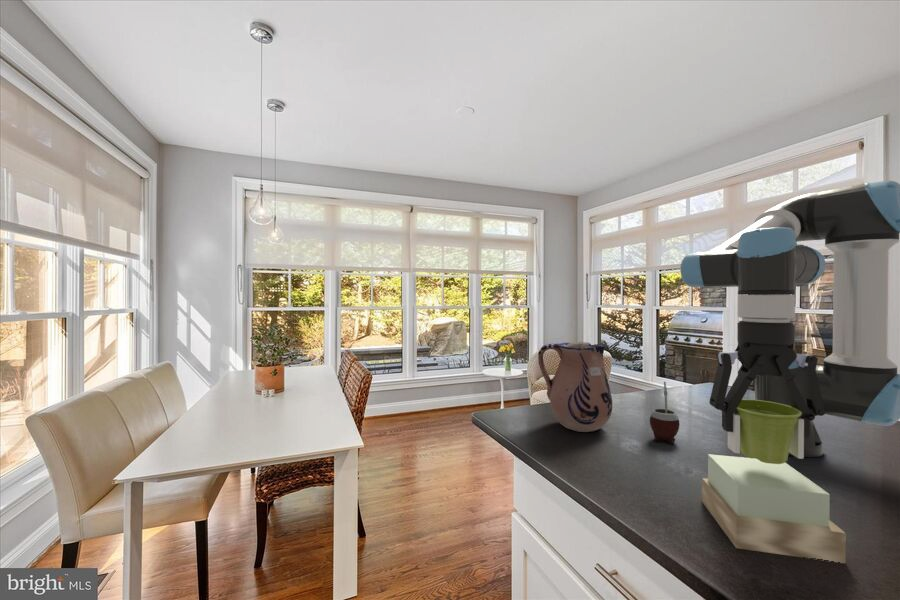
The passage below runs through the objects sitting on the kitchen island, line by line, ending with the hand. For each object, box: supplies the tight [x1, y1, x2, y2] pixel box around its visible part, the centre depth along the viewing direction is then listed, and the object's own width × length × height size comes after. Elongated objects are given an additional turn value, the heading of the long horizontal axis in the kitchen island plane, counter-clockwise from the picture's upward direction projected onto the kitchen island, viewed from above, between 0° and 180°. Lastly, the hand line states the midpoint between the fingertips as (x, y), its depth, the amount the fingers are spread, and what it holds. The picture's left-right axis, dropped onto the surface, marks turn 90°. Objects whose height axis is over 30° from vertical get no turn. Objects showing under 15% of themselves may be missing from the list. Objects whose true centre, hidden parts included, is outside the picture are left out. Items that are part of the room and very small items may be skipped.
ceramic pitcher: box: [537, 341, 613, 433], centre depth 115 cm, size 18×21×25 cm
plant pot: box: [735, 398, 802, 464], centre depth 65 cm, size 9×9×9 cm
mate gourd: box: [649, 381, 680, 446], centre depth 105 cm, size 8×8×15 cm
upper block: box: [707, 453, 831, 527], centre depth 65 cm, size 12×12×5 cm
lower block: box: [701, 477, 847, 564], centre depth 65 cm, size 14×14×5 cm
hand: (764, 452), depth 66 cm, fingers closed on plant pot, 8 cm apart
